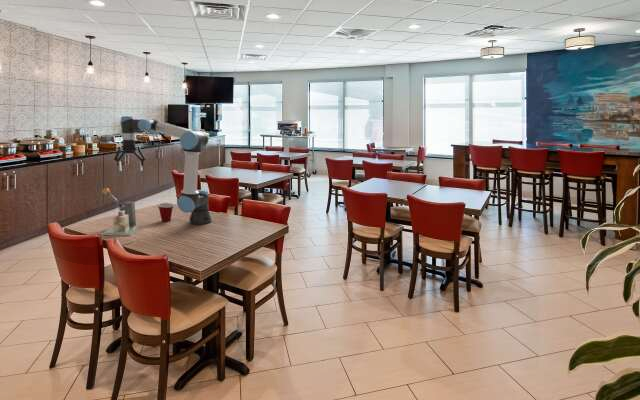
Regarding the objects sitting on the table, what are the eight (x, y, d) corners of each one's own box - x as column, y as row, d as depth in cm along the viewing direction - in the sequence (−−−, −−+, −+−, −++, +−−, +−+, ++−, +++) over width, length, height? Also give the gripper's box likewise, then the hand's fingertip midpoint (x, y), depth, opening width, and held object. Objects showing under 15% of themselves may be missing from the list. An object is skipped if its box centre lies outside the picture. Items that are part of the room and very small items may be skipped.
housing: (129, 228, 262) (128, 210, 260) (125, 230, 256) (124, 213, 253) (117, 227, 262) (116, 210, 260) (113, 230, 255) (112, 213, 253)
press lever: (127, 207, 274) (107, 186, 270) (125, 208, 270) (104, 187, 266) (123, 211, 274) (103, 190, 270) (120, 212, 270) (100, 191, 266)
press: (144, 224, 278) (142, 201, 275) (130, 235, 252) (128, 210, 249) (119, 224, 276) (118, 201, 273) (103, 235, 250) (101, 210, 247)
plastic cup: (169, 223, 283) (168, 206, 281) (155, 222, 285) (154, 205, 283) (177, 219, 293) (176, 203, 291) (164, 218, 296) (163, 202, 293)
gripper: (149, 139, 280) (151, 169, 284) (111, 139, 277) (113, 170, 281) (146, 139, 273) (148, 171, 277) (107, 139, 270) (109, 171, 274)
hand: (131, 170), depth 279 cm, fingers open, 13 cm apart
